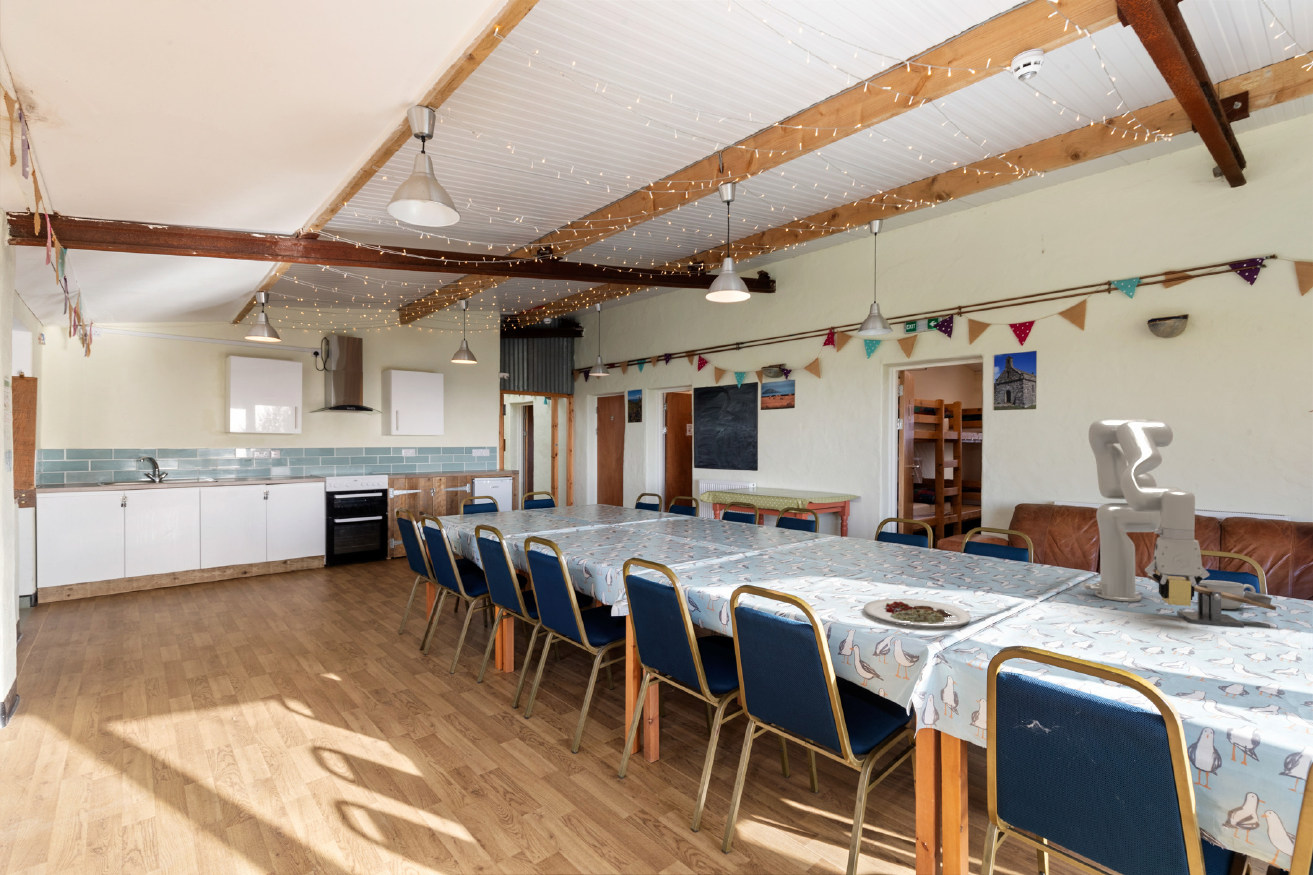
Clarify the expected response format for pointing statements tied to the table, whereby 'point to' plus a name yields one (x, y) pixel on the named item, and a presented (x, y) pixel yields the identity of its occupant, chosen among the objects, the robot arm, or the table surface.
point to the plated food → (916, 612)
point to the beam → (1237, 596)
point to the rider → (1178, 591)
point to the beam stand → (1210, 611)
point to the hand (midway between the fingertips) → (1176, 597)
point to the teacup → (1227, 591)
